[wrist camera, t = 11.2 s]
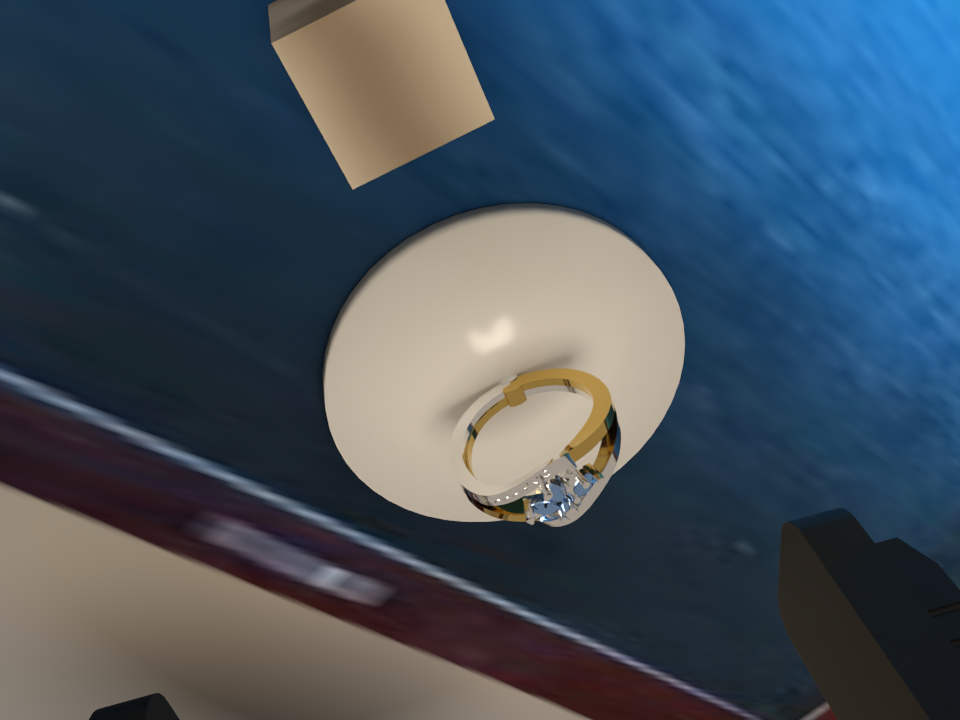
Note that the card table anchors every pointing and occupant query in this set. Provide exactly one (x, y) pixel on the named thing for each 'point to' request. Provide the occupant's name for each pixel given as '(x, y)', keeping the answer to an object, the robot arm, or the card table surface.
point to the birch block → (379, 78)
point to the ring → (557, 478)
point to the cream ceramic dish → (496, 349)
